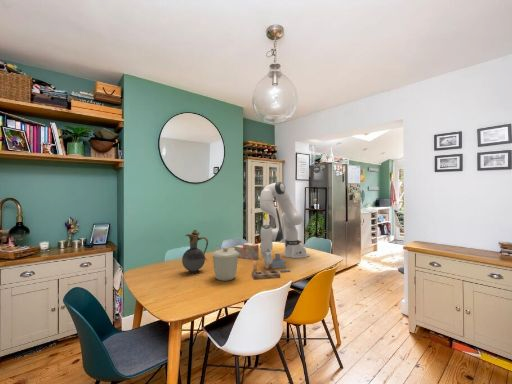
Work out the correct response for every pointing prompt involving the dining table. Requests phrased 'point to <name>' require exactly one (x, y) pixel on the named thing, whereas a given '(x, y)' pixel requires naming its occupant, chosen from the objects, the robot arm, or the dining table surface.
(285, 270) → the card
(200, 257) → the pitcher
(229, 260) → the canister
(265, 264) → the pin
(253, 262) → the pin
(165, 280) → the dining table surface
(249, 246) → the floral patterned box
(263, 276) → the socket board
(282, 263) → the housing
